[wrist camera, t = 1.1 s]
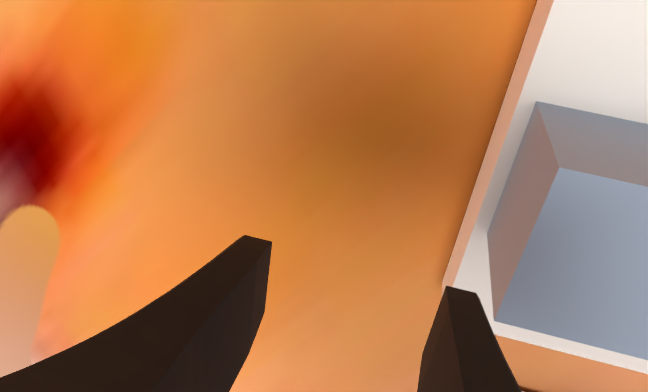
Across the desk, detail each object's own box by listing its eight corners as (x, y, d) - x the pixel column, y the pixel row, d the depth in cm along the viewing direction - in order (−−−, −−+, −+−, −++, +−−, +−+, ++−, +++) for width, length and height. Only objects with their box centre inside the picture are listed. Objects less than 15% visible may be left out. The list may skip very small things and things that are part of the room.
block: (632, 267, 18) (678, 368, 14) (487, 232, 19) (493, 321, 15) (708, 136, 16) (787, 218, 12) (535, 100, 16) (559, 167, 12)
